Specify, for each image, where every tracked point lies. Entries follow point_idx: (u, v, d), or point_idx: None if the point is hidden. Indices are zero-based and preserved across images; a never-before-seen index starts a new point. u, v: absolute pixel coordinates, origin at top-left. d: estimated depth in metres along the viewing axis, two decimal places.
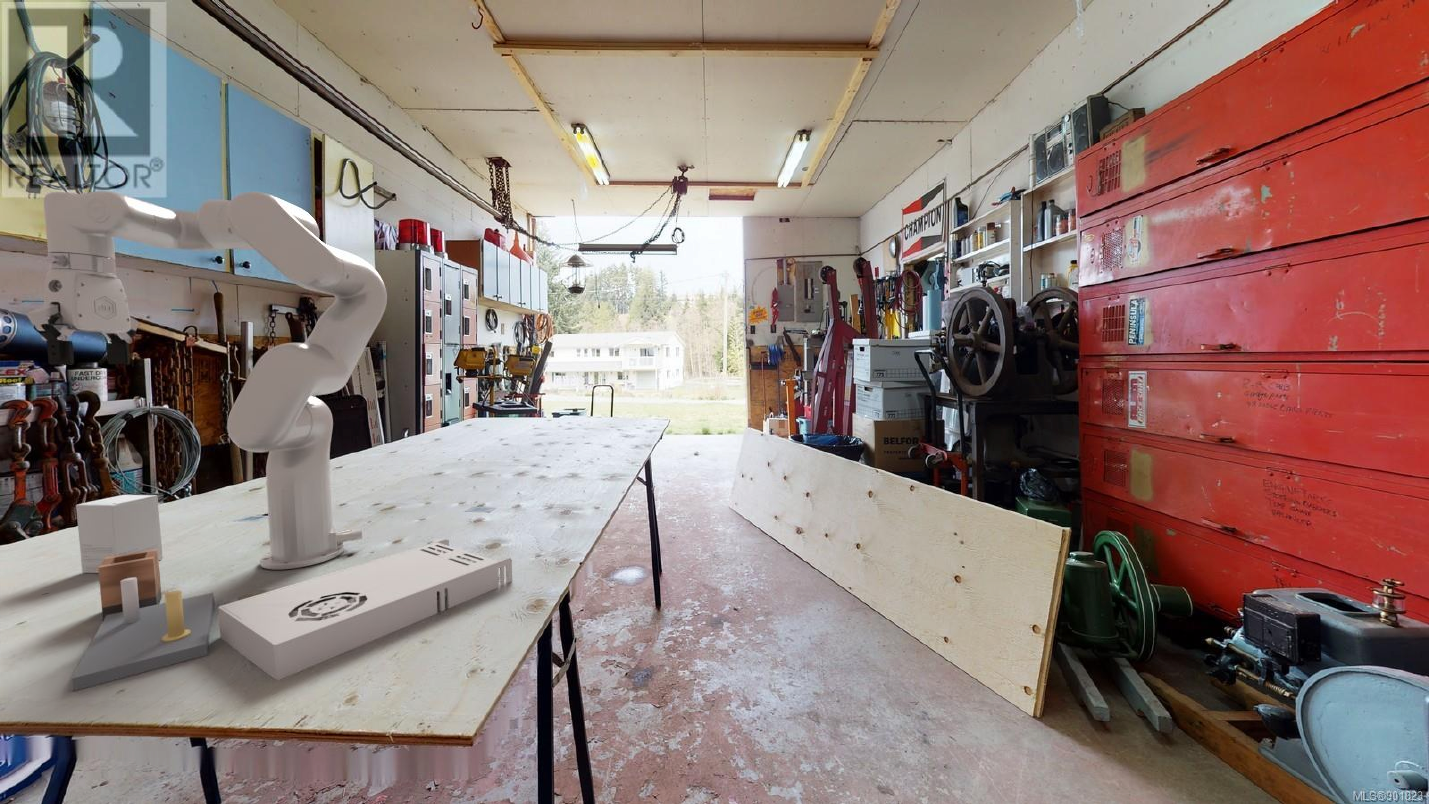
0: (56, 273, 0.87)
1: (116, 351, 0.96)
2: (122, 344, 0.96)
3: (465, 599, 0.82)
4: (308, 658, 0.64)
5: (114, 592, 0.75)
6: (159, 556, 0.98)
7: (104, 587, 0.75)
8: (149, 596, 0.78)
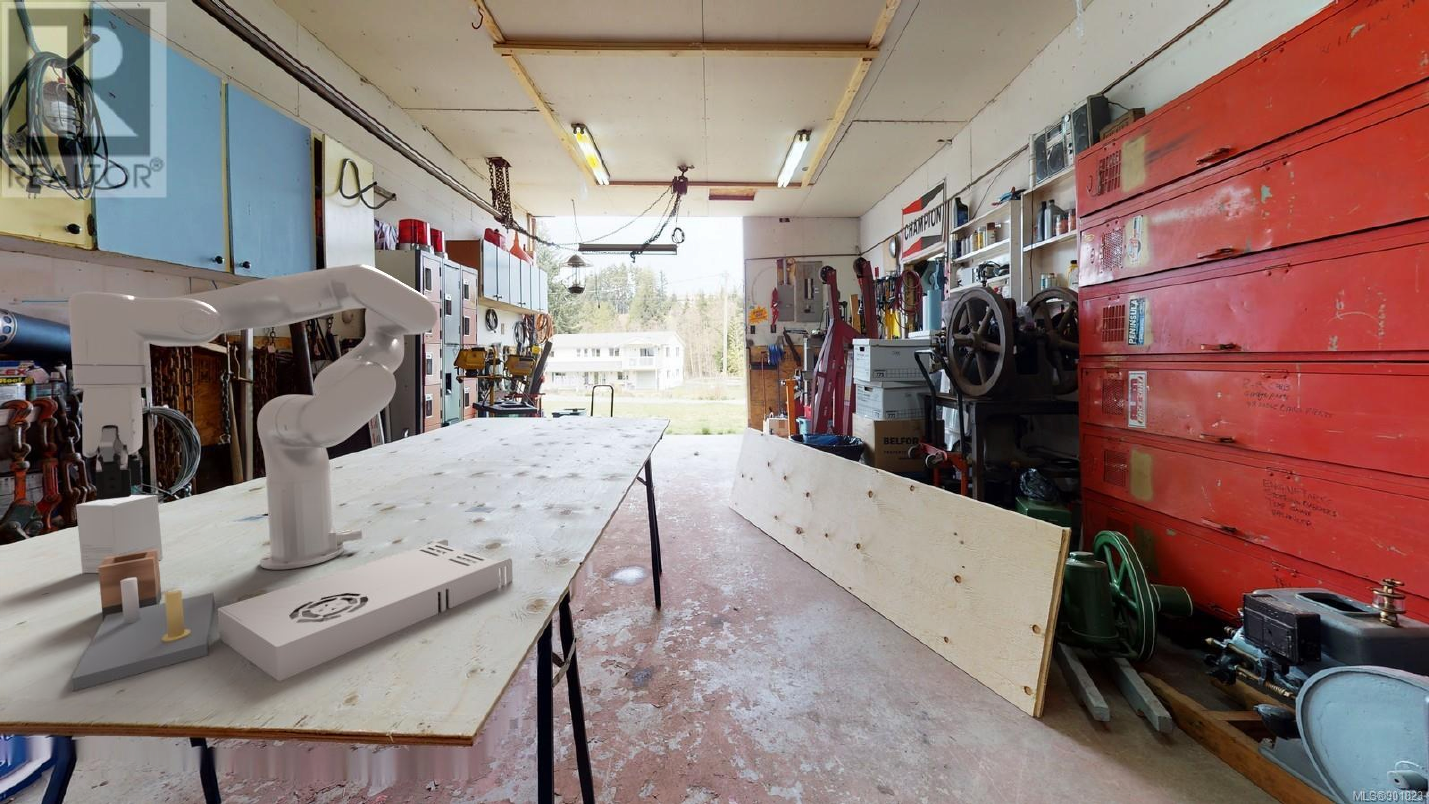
0: None
1: None
2: None
3: (466, 599, 0.82)
4: (310, 660, 0.64)
5: (114, 592, 0.75)
6: (159, 556, 0.98)
7: (104, 587, 0.75)
8: (149, 596, 0.78)
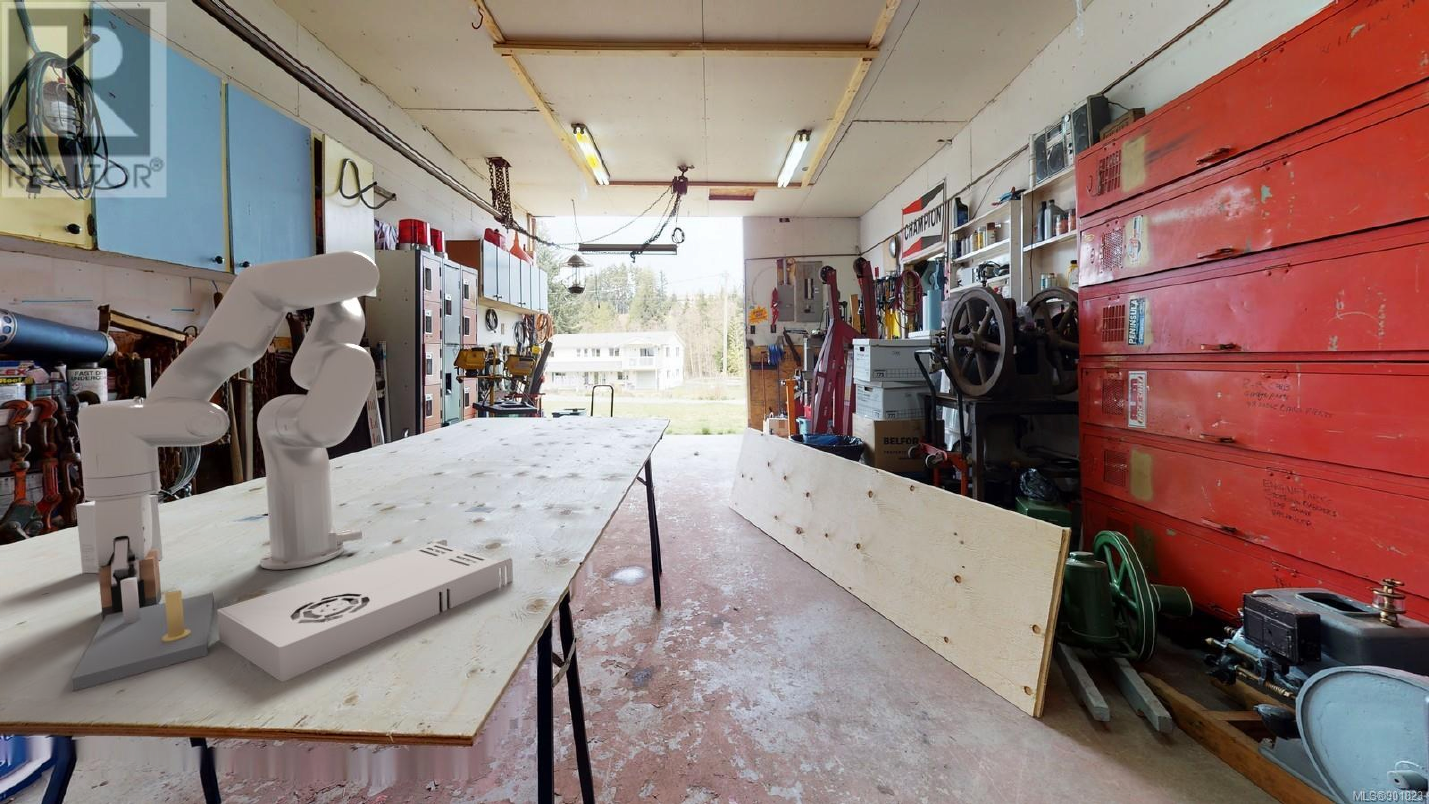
0: None
1: None
2: None
3: (467, 599, 0.82)
4: (313, 660, 0.63)
5: None
6: (159, 556, 0.98)
7: (104, 587, 0.75)
8: (149, 596, 0.78)
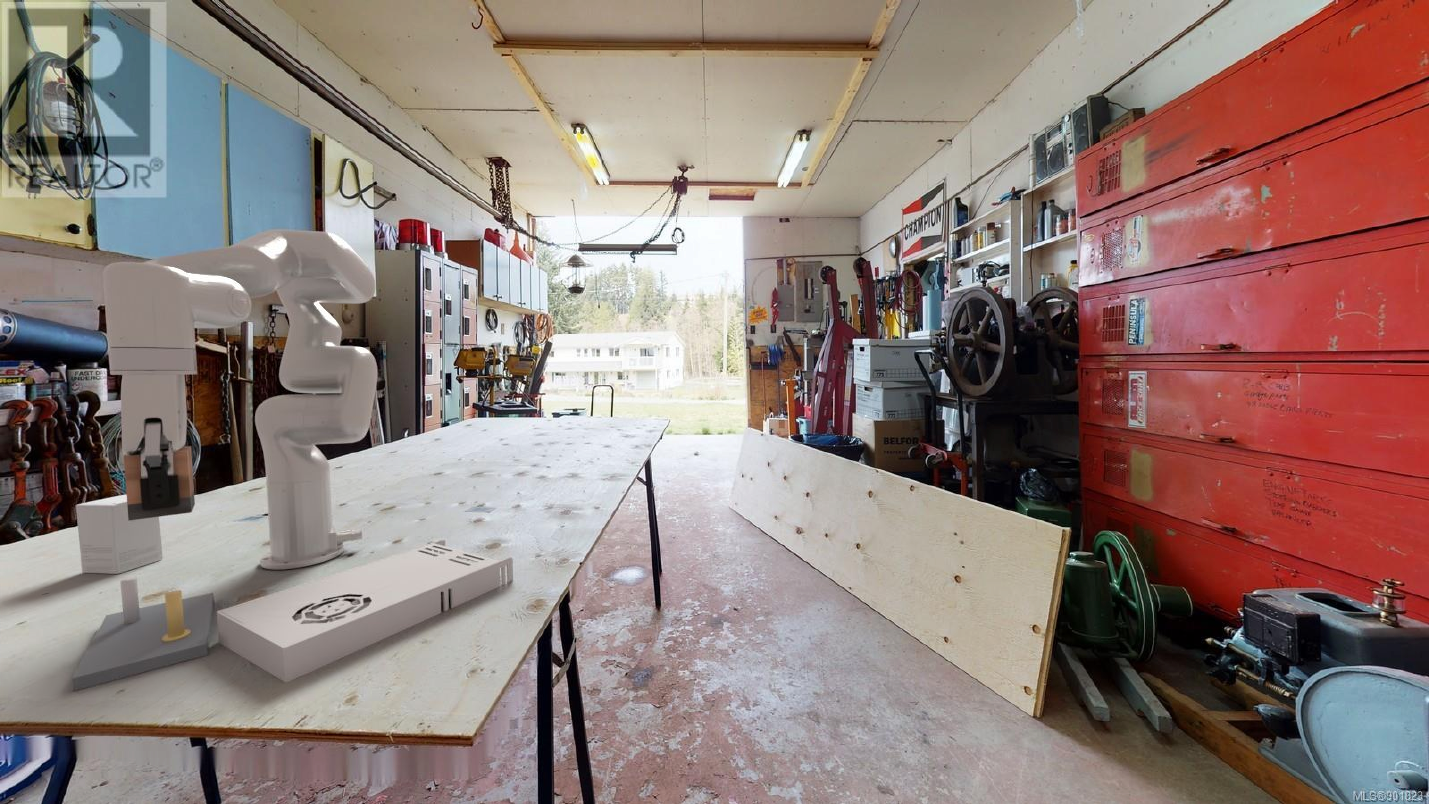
0: None
1: None
2: None
3: (468, 599, 0.82)
4: (316, 660, 0.63)
5: None
6: (159, 556, 0.98)
7: (130, 479, 0.63)
8: (182, 496, 0.66)
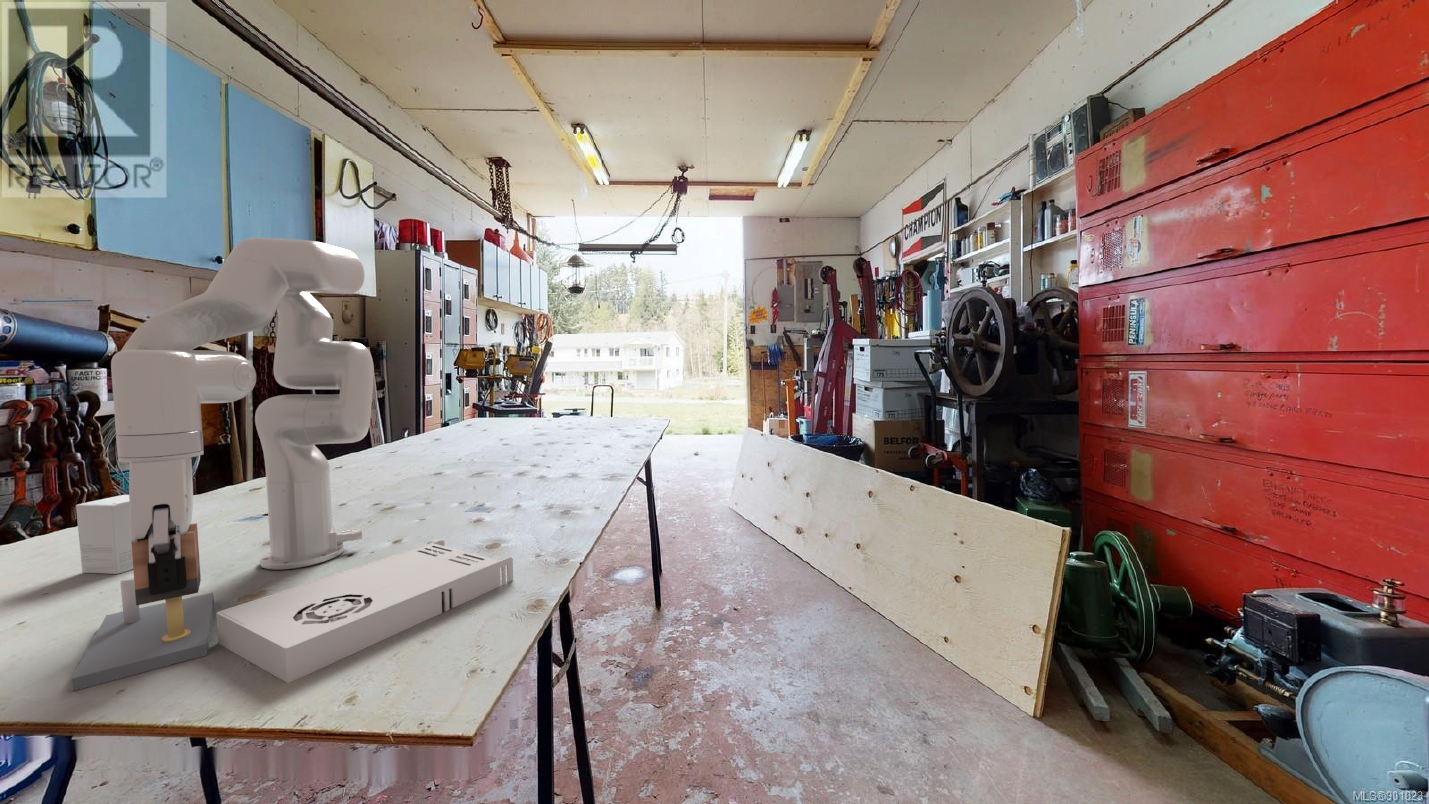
0: None
1: None
2: None
3: (468, 599, 0.82)
4: (318, 661, 0.63)
5: None
6: None
7: (138, 565, 0.63)
8: (189, 577, 0.66)
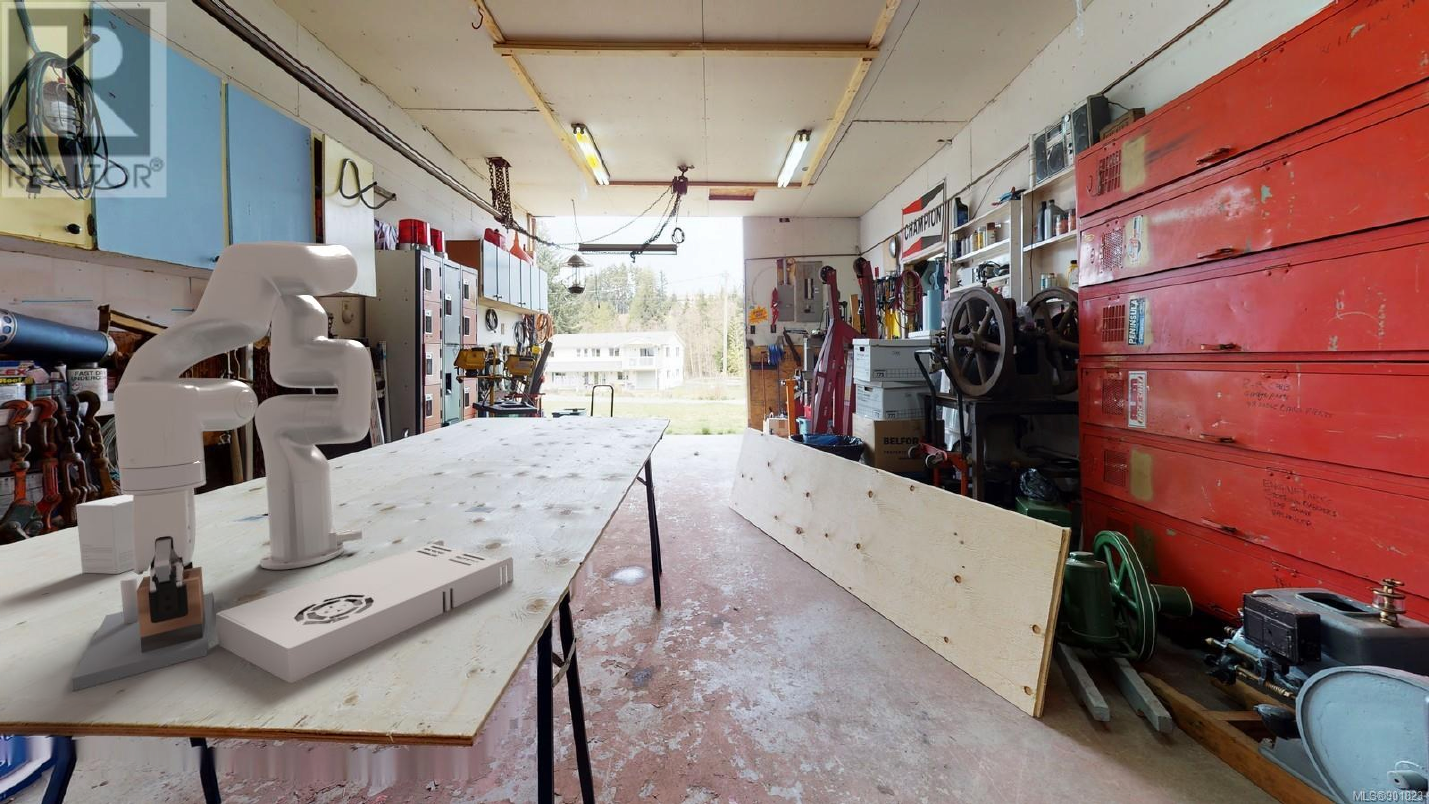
0: None
1: None
2: None
3: (469, 599, 0.82)
4: (320, 661, 0.63)
5: None
6: None
7: (143, 613, 0.64)
8: (193, 623, 0.67)
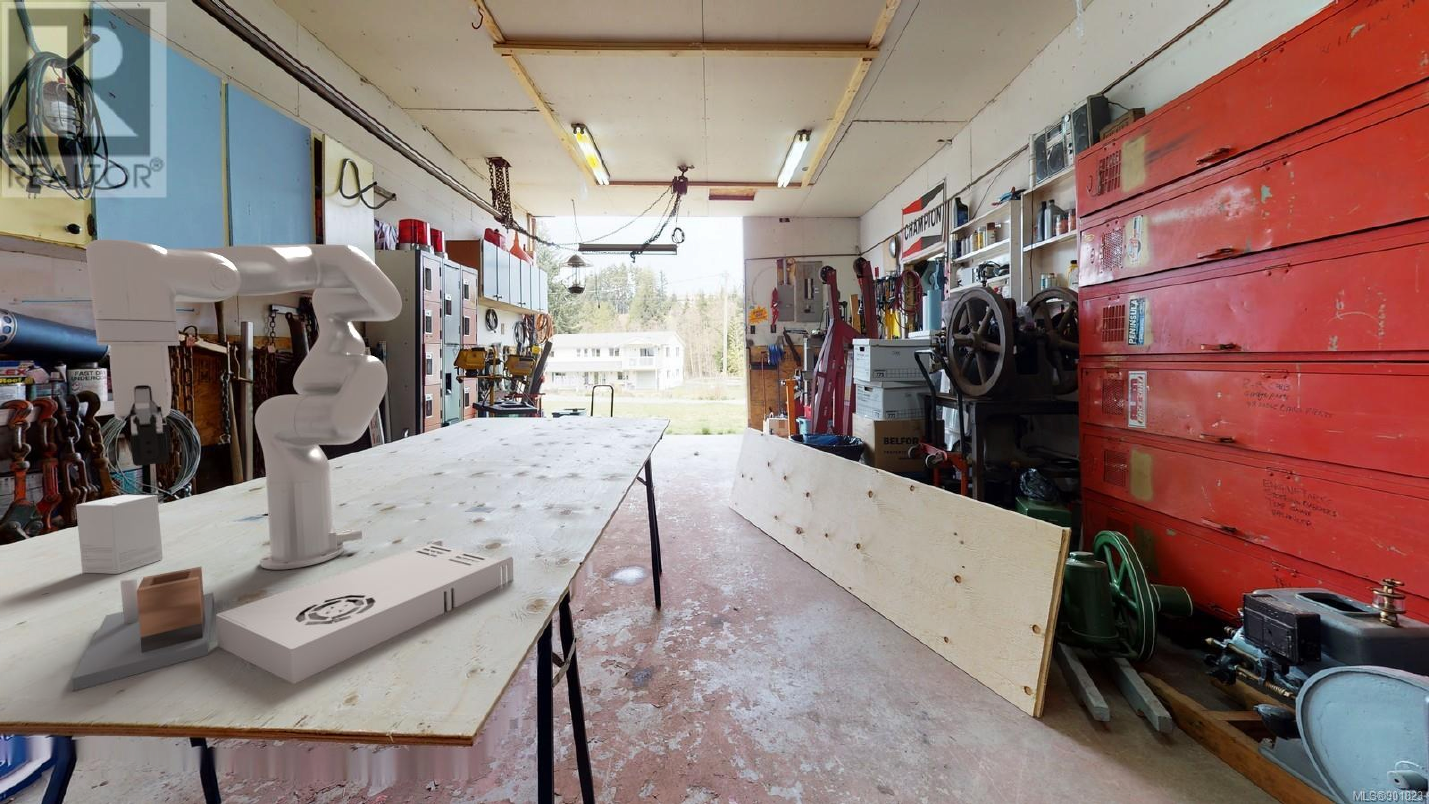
0: None
1: None
2: None
3: (470, 598, 0.82)
4: (323, 661, 0.63)
5: (155, 619, 0.65)
6: (159, 556, 0.98)
7: (143, 613, 0.64)
8: (193, 623, 0.67)
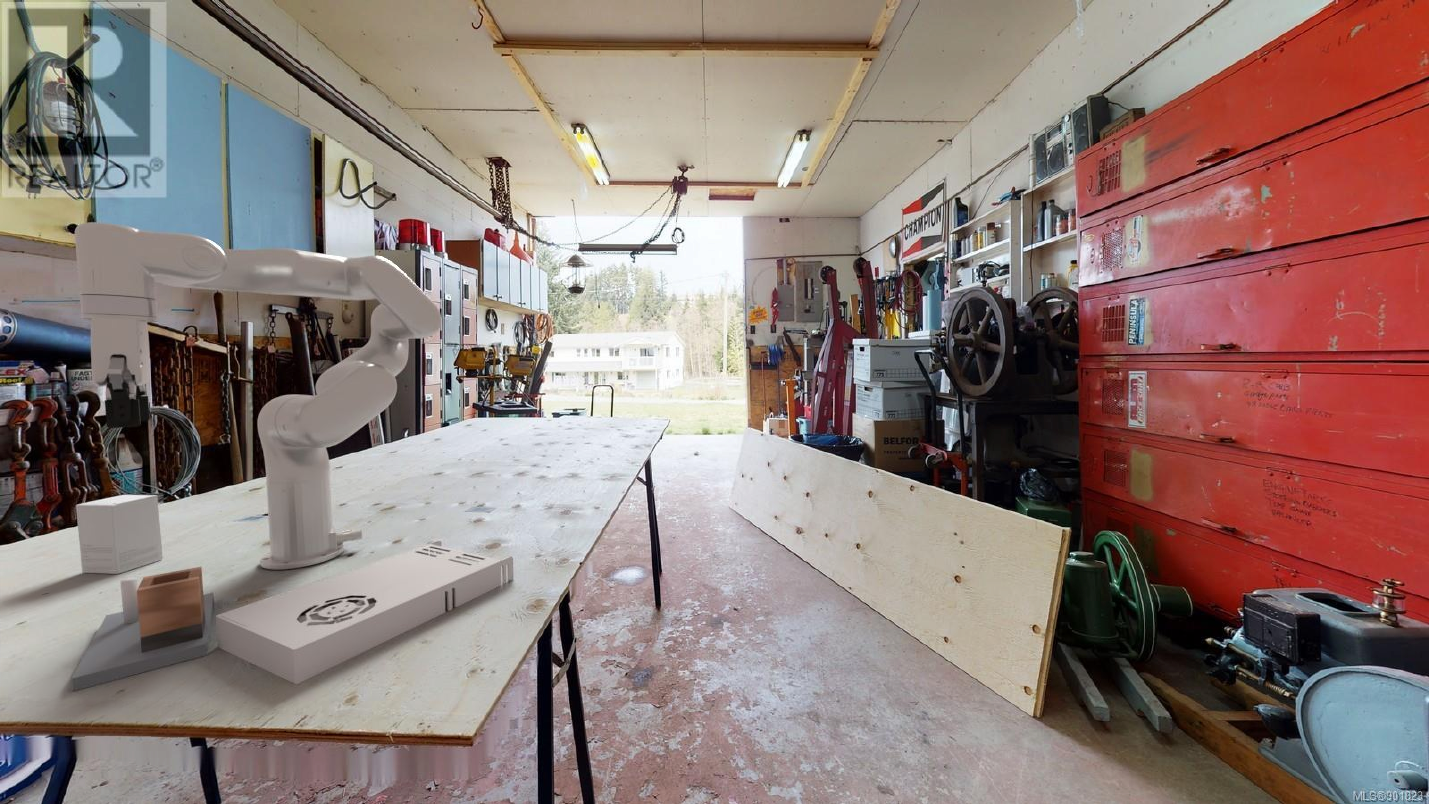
0: None
1: None
2: None
3: (471, 598, 0.82)
4: (326, 661, 0.63)
5: (155, 619, 0.65)
6: (159, 556, 0.98)
7: (143, 613, 0.64)
8: (193, 623, 0.67)
